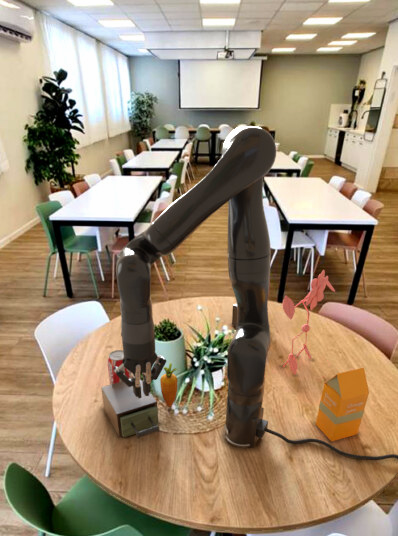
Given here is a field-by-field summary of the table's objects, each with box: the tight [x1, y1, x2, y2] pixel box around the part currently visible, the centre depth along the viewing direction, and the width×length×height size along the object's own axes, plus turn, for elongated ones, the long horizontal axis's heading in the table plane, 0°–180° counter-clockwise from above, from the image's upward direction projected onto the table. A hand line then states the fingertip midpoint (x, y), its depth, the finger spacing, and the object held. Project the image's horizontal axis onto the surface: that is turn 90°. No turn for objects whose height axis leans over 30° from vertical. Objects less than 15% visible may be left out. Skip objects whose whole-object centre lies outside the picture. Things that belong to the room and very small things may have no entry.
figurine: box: [272, 269, 336, 381], centre depth 134 cm, size 15×26×35 cm, turn 138°
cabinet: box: [100, 378, 158, 438], centre depth 118 cm, size 14×12×8 cm
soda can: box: [107, 349, 132, 385], centre depth 130 cm, size 7×7×12 cm
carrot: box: [159, 362, 178, 408], centre depth 120 cm, size 5×5×15 cm
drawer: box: [120, 406, 160, 439], centre depth 114 cm, size 18×10×6 cm, turn 29°
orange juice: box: [315, 367, 370, 442], centre depth 112 cm, size 8×9×20 cm
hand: (142, 395), depth 104 cm, fingers closed
